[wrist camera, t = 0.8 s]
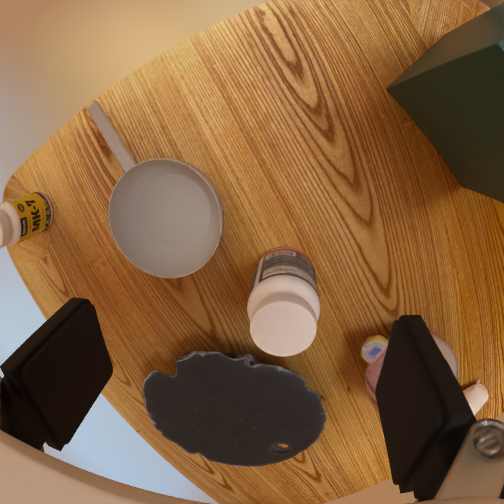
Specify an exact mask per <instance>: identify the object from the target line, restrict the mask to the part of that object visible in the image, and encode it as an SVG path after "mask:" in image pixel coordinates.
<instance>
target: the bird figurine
mask: <svg viewBox="0 0 504 504" xmlns="http://www.w3.org/2000/svg"><path fill="white" fill-rule="evenodd" d="M463 393H464V395H465V397H466V399H467V401H468V403H469V405H470V407H471V410H472V412H473V414H474V416H475V414H476V413H477V411H479V410H480V409H481V407H482V406H483V405H484V404H485V403H486V401H487V400H488V391H487V389H486V388H485V386H483V385H482V384H480V380H478V381H477V382H476V384H474V385H471V386H470V387H468V388H466V389H465V390H463Z"/></svg>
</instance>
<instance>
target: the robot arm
mask: <svg viewBox="0 0 504 504" xmlns="http://www.w3.org/2000/svg"><path fill="white" fill-rule="evenodd" d="M0 368H1V370H2V372H3V374H4V377H3V378H1V377H0V504H208V503H202V502H197V501H191V500H186V499H181V498H176V497H172V496H167V495H163V494H159V493H155V492H151V491H147V490H144V489H140V488H136V487H133V486H130V485H126V484H123V483H120V482H116V481H113V480H111V479H108V478H105V477H102V476H99V475H96V474H94V473H91V472H88V471H86V470H83V469H80V468H78V467H75V466H73V465H70V464H68V463H66V462H63V461H61V460H59V459H56V458H54V457H52V456H50V455H48V454H46V453H44V448H43V444H44V443H45V442H46V443H47V444H48V446H50V447H52V448H54V449H56V450H59V451H61V450H62V448H63V447H64V445H65V444H68V443H69V442H70V440H71V439H72V437H73V435H74V434H75V432H76V430H77V429H78V427H79V426H80V424H81V423H82V421H83V419H84V418H85V416H86V415H87V413H88V411H89V410H90V408H91V407H92V405H93V404H94V402H95V401H96V399H97V397H98V396H99V394H100V393H101V391H102V390H103V388H104V387H105V385H106V384H107V382H108V380H109V379H110V377H111V376H112V373H113V366H112V363H111V360H110V357H109V354H108V351H107V348H106V345H105V341H104V338H103V335H102V331H101V328H100V324H99V321H98V317H97V314H96V310H95V307H94V305H93V304H91V302H90V301H89V300H88V299H83V298H71V299H70V300H69V301H68V302H67V303H66V304H64V305H63V306H62V307H61V308H60V309H59V310H58V311H57V312H56V313H55V314H54V315H52V316H51V317H50V318H49V319H48V320H47V321H46V322H45V323H44V324H43V325H42V326H41V327H40V328H39V329H38V330H37V331H35V332H34V333H33V334H32V335H31V336H30V337H29V338H28V339H27V340H26V341H25V342H24V343H23V344H22V345H21V346H20V347H19V348H18V349H17V350H16V351H15V352H14V353H13V354H12V355H11V356H10V357H9V358H8V359H7V360H6V361H5V362H4V363H3V364H2V365H1V366H0ZM375 397H376V401H377V406H378V410H379V414H380V419H381V423H382V428H383V433H384V438H385V442H386V447H387V452H388V458H389V463H390V468H391V474H392V480H393V483H394V484H395V485H399V489H400V493H406V492H411V491H414V497H415V498H416V499H417V500H416V501H415V503H408V504H504V423H503V422H500V421H499V420H495V419H491V418H490V419H482V420H479V421H477V420H476V418H475V416H474V414H473V412H472V410H471V407H470V405H469V403H468V401H467V399H466V397H465V395H464V393H463V391H462V389H461V387H460V385H459V383H458V381H457V379H456V377H455V375H454V373H453V371H452V369H451V367H450V366H449V364H448V362H447V360H446V359H445V358H444V356H443V354H442V353H441V351H440V349H439V347H438V345H437V343H436V342H435V340H434V338H433V336H432V335H431V333H430V331H429V329H428V328H427V326H426V324H425V322H424V321H423V319H422V317H421V316H420V315H402V316H401V317H400V318H399V320H395V321H394V323H393V327H392V331H391V335H390V339H389V342H388V346H387V350H386V354H385V357H384V361H383V364H382V368H381V371H380V375H379V378H378V381H377V384H376V389H375Z"/></svg>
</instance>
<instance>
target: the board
mask: <svg viewBox="0 0 504 504" xmlns="http://www.w3.org/2000/svg"><path fill="white" fill-rule="evenodd" d="M175 364H176V369H177V372H176V374H175V376H170V375H167V374H165V373H163V372H161V371H159V370H154V371H153V372H152V373H150V374H149V376H148V377H147V378H146V379H145V380H144V384H143V386H142V389H143V396H144V398H145V408H146V410H147V413H148V416H149V418H150V419H151V420H152V421H153V425H154V427H155V429H157V430H159V431H160V432H161V433H162V436H163V437H165V438H166V439H168V440H170V441H172V442H174V443H175V444H177V445H178V446H179V447H180V448H182V449H183V450H185V451H186V452H188V453H190V454H197V453H200V454H201V455H202V456H203V457H205V459H207V460H208V461H212V462H218V463H221V464H227V465H233V466H239V467H240V466H246V467H249V466H254V467H255V466H259V467H260V466H264V465H267V464H273V463H278V462H281V461H284V460H287V459H290V458H292V457H293V456H296V455H297V454H299V452H302V451H304V450H305V449H307V448H308V447H309V446H310V445H311V444H313V443H314V442H315V441H316V440H317V439H318V438H319V435H320V434H321V432H322V431H323V430H324V423H325V422H326V414H325V412H326V410H325V409H324V408H323V406H322V403H321V398H320V395H319V393H317V392H315V391H312V390H311V389H309V388H308V387H307V386H306V385H307V384H306V381H305V379H304V377H301V376H299V375H298V374H296V373H294V372H293V371H290V370H289V369H287V368H285V367H281V366H276V365H268V364H267V363H265V362H263V361H261V360H259V359H258V358H255V357H254V356H253V355H251V354H249V353H247V354H232V353H228V354H222V353H220V352H219V351H206V350H195V351H191V352H187V353H185V354H183V355H181V356H180V357H179V358H178V359H177V360H176V362H175ZM277 444H286V445H288V446H289V447H287V448H281V447H278V446H277Z"/></svg>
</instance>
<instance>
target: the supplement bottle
mask: <svg viewBox="0 0 504 504" xmlns="http://www.w3.org/2000/svg"><path fill="white" fill-rule="evenodd" d="M52 220H53V209H52V205H51V203H50V200H49V199H48V197H47V196H46V195H45V194H43V193H41V192H34V193H31V194H28V195H24V196H21V197H18V198H15V199H12V200H9V201H6V202H4V203H1V204H0V248H2V247H4V246H6V245H8V246H13V245H16V244H18V243H20V242H22V241H24V240H26V239H28V238H30V237H32V236H34V235H36V234H38V233H40V232H42V231H44V230H46V229H47V228H48V227H49V226H50V225H51V223H52Z"/></svg>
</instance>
